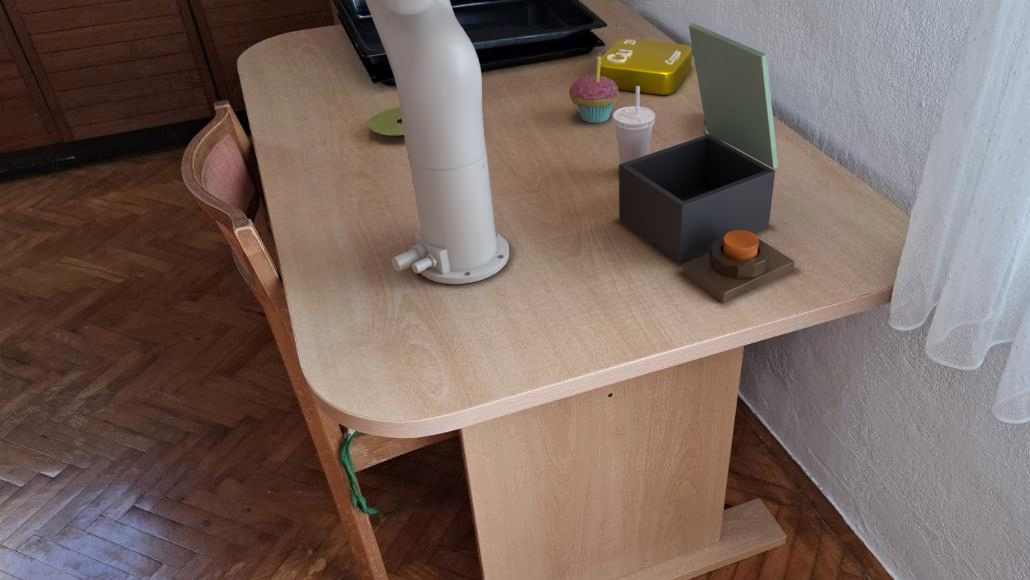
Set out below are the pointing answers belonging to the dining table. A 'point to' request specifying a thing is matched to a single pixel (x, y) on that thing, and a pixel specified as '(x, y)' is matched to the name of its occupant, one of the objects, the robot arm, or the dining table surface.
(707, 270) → the switch block
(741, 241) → the button
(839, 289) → the dining table surface
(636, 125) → the smoothie
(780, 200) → the dining table surface
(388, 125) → the mat
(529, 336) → the dining table surface
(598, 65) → the cupcake
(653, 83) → the element tile
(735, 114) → the lid
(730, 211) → the dark grey hollow box
